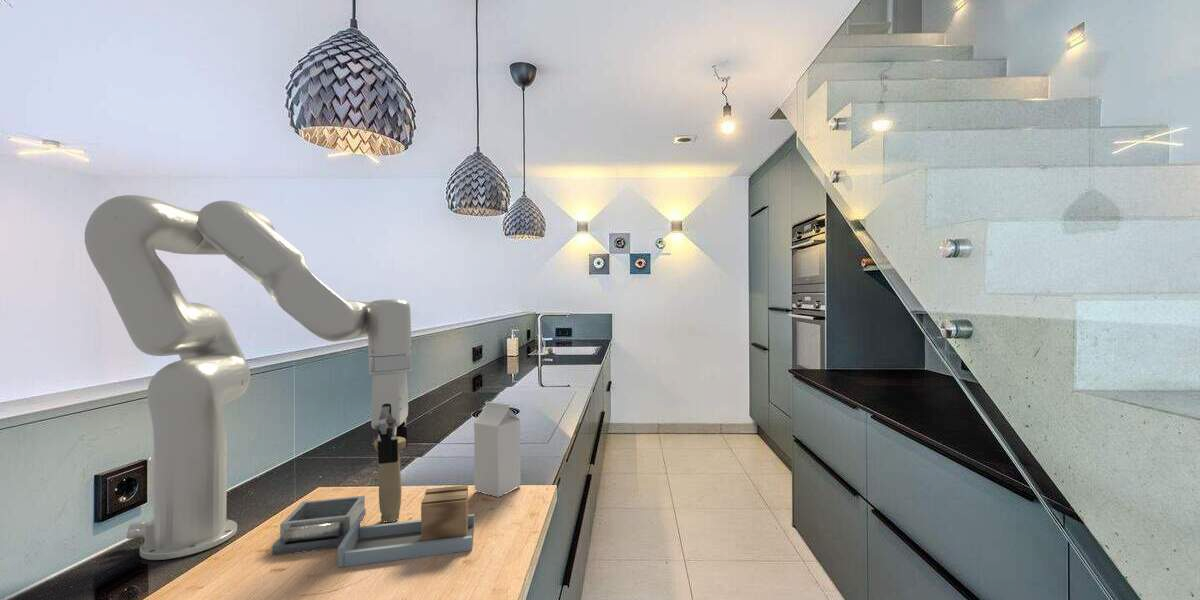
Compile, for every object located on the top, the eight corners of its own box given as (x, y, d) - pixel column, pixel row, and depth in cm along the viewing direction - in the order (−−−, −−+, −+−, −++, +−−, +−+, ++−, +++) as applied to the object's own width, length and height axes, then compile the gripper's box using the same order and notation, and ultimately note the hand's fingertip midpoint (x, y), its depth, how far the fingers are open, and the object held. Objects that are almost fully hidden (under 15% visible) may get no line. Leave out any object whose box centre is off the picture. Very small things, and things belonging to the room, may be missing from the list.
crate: (421, 549, 75) (421, 503, 75) (427, 529, 82) (426, 488, 82) (466, 543, 77) (465, 499, 77) (468, 525, 83) (467, 484, 84)
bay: (337, 567, 71) (337, 547, 71) (355, 538, 80) (355, 521, 80) (472, 550, 76) (472, 531, 76) (474, 524, 85) (474, 508, 85)
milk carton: (498, 498, 97) (497, 407, 97) (474, 492, 101) (473, 404, 101) (521, 487, 103) (520, 401, 103) (497, 481, 107) (497, 398, 107)
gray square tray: (272, 555, 75) (272, 530, 75) (301, 523, 87) (301, 501, 87) (346, 546, 77) (346, 522, 78) (365, 516, 89) (365, 495, 89)
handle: (387, 529, 84) (386, 445, 84) (368, 520, 87) (368, 440, 88) (411, 519, 87) (411, 439, 88) (393, 511, 91) (393, 434, 92)
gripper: (380, 361, 96) (382, 444, 95) (356, 371, 79) (359, 472, 79) (418, 358, 98) (421, 440, 97) (403, 367, 81) (407, 466, 80)
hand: (394, 454), depth 88 cm, fingers open, 9 cm apart
